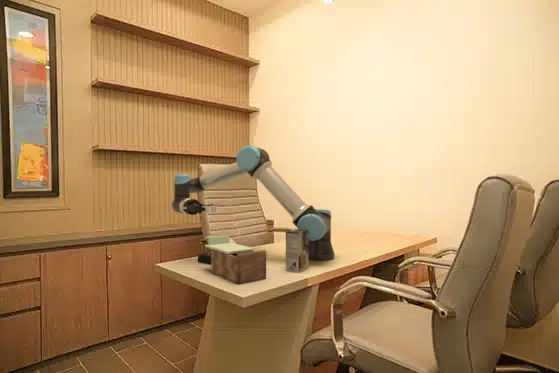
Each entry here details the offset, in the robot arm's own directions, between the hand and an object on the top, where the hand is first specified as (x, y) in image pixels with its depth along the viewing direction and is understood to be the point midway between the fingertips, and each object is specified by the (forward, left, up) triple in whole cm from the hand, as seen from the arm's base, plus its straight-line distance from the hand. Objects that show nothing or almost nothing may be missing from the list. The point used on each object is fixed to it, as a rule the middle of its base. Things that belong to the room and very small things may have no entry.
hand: (213, 209), depth 147 cm
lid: (-11, +6, -15) cm, 20 cm away
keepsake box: (-17, +9, -24) cm, 31 cm away
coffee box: (-34, -10, -24) cm, 43 cm away
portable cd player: (+1, -10, -25) cm, 27 cm away
